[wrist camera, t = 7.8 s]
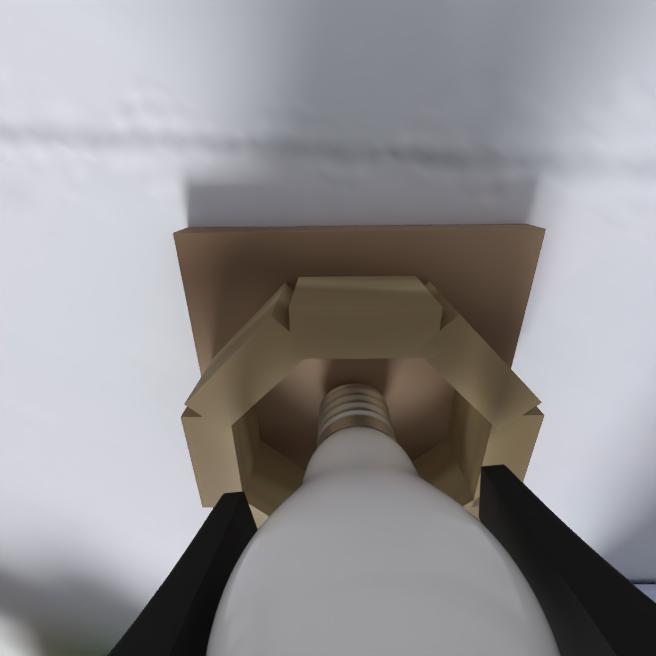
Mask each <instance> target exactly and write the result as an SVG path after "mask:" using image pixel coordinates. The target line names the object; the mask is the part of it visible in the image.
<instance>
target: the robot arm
mask: <svg viewBox="0 0 656 656" xmlns="http://www.w3.org/2000/svg"><path fill="white" fill-rule="evenodd" d="M479 519H480V522H481V523H482V524H483V525H484V526H485V527H486V528H487V529H488V530H489V531H490V532H491V533H492V534H493V535H494V536H495V537H496V539H497V540H498V541H499V542H500V543H501V544H502V546H503V547H504V548H505V549H506V551H507V552H508V553H509V554H510V556H511V557H512V559H513V560H514V561H515V563H516V564H517V566H518V567H519V569H520V570H521V572H522V573H523V575H524V576H525V578H526V580H527V581H528V583H529V585H530V586H531V588H532V590H533V592H534V594H535V595H536V597H537V599H538V601H539V603H540V605H541V607H542V609H543V611H544V613H545V616H546V618H547V620H548V622H549V625H550V627H551V629H552V632H553V634H554V637H555V640H556V642H557V645H558V648H559V651H560V654H561V656H656V584H632V583H631V582H630V581H629V580H628V579H626V578H625V577H624V576H623V575H622V574H621V573H619V572H618V571H617V570H616V569H615V568H614V567H612V566H611V565H610V564H609V563H608V562H607V561H605V560H604V559H603V558H602V557H601V556H600V555H599V554H598V553H596V552H595V551H594V550H593V549H592V548H591V547H590V546H589V545H587V544H586V543H585V542H584V541H583V540H582V539H581V538H580V537H579V536H578V535H577V534H576V533H574V532H573V531H572V530H571V529H570V528H569V527H568V526H567V525H566V524H565V523H564V522H563V521H561V520H560V519H559V518H558V517H557V516H556V515H555V514H554V513H553V512H552V511H551V510H550V509H549V508H548V507H547V506H546V505H545V504H544V503H543V502H542V501H541V500H540V499H539V498H538V497H537V496H536V495H535V494H534V493H533V492H532V491H531V490H530V489H529V488H528V487H527V486H526V485H525V484H524V483H523V482H522V481H521V480H520V479H519V478H518V477H517V476H516V475H515V474H514V473H513V472H512V471H511V470H510V469H509V468H508V467H507V466H505V465H504V464H501V465H491V466H481V478H480V498H479ZM257 530H258V529H257V526H256V523H255V520H254V518H253V515H252V512H251V509H250V507H249V504H248V501H247V498H246V495H245V493H244V491H241V492H231V493H224V494H223V495H222V496H221V497H220V499H219V501H218V502H217V504H216V505H215V507H214V508H213V510H212V511H211V513H210V514H209V516H208V518H207V519H206V521H205V522H204V524H203V525H202V527H201V528H200V530H199V531H198V533H197V534H196V536H195V537H194V539H193V540H192V542H191V543H190V545H189V546H188V548H187V549H186V551H185V552H184V554H183V555H182V557H181V558H180V559H179V561H178V562H177V564H176V565H175V567H174V568H173V570H172V571H171V573H170V574H169V575H168V577H167V578H166V580H165V581H164V582H163V584H162V585H161V586H160V588H159V589H158V591H157V592H156V593H155V595H154V596H153V597H152V599H151V600H150V601H149V603H148V604H147V605H146V607H145V608H144V609H143V611H142V612H141V613H140V615H139V616H138V617H137V619H136V620H135V621H134V623H133V624H132V625H131V627H130V628H129V629H128V630H127V632H126V633H125V634H124V635H123V637H122V638H121V639H120V640H119V642H118V643H117V644H116V645H115V647H114V648H113V649H112V650H111V652H110V653H109V654H108V655H107V656H206V650H207V645H208V640H209V636H210V632H211V628H212V624H213V620H214V617H215V613H216V610H217V607H218V604H219V601H220V598H221V596H222V593H223V590H224V588H225V586H226V583H227V581H228V579H229V576H230V574H231V572H232V570H233V568H234V566H235V564H236V562H237V561H238V559H239V557H240V555H241V554H242V552H243V550H244V549H245V547H246V545H247V544H248V542H249V541H250V540H251V538H252V537H253V535H254V534H255V533H256V531H257Z"/></svg>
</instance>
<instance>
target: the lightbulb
mask: <svg viewBox="0 0 656 656" xmlns="http://www.w3.org/2000/svg"><path fill="white" fill-rule="evenodd" d="M318 420H319V421H318V439H317V449H316V450H315V452H314V453H313V455H312V457H311V458H310V460H309V463H308V465H307V468H306V471H305V474H304V477H303V480H302V483H301V485H300V486H299V488H298V489H297V490H296V491H294V492H293V493H292V494H291V495H290V496H289V497H288V498H287V499H286V500H285V501H284V502H283V503H282V504H281V505H279V506H278V507H277V508H276V509H275V511H274V512H273V513H272V514H271V515H270V516H269V517H268V518H267V519H266V520H265V521H264V523H263V524H262V525H261V526H260V528H259V529H258V530H257V531H256V533H255V534H254V535H253V537H252V538H251V540H250V541H249V542H248V544H247V545H246V547H245V549H244V550H243V552H242V554H241V555H240V557H239V559H238V561H237V562H236V564H235V566H234V568H233V570H232V572H231V574H230V576H229V579H228V581H227V583H226V586H225V588H224V590H223V593H222V596H221V598H220V601H219V604H218V607H217V610H216V613H215V617H214V620H213V624H212V628H211V632H210V636H209V640H208V645H207V650H206V656H561V654H560V651H559V648H558V645H557V642H556V640H555V637H554V634H553V632H552V629H551V627H550V625H549V622H548V620H547V618H546V616H545V613H544V611H543V609H542V607H541V605H540V603H539V601H538V599H537V597H536V595H535V594H534V592H533V590H532V588H531V586H530V585H529V583H528V581H527V580H526V578H525V576H524V575H523V573H522V572H521V570H520V569H519V567H518V566H517V564H516V563H515V561H514V560H513V559H512V557H511V556H510V554H509V553H508V552H507V551H506V549H505V548H504V547H503V546H502V544H501V543H500V542H499V541H498V540H497V539H496V537H495V536H494V535H493V534H492V533H491V532H490V531H489V530H488V529H487V528H486V527H485V526H484V525H483V524H482V523H481V522H480V521H479V520H478V519H477V518H476V517H475V516H474V515H473V514H471V513H470V512H469V511H468V510H467V509H466V508H464V507H463V506H462V505H461V504H459V503H458V502H457V501H455V500H454V499H453V498H451V497H450V496H448V495H447V494H446V493H444V492H443V491H441V490H440V489H438V488H437V487H435V486H433V485H432V484H430V483H429V482H427V481H426V480H424V479H423V478H422V477H421V476H420V475H419V474H418V472H417V470H416V468H415V467H414V465H413V463H412V461H411V459H410V458H409V456H408V455H407V453H406V452H405V451H404V449H403V448H402V447H401V446H400V445H399V444H398V443H397V441H396V438H395V436H394V430H393V427H392V422H391V419H390V414H389V409H388V405H387V402H386V400H385V398H384V397H383V396H382V394H381V393H380V392H378V391H377V390H376V389H374V388H372V387H370V386H367V385H364V384H357V383H352V384H345V385H341V386H338V387H336V388H334V389H333V390H331V391H330V392H329V393H327V394H326V396H325V397H324V398H323V400H322V401H321V404H320V407H319V416H318Z"/></svg>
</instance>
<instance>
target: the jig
mask: <svg viewBox="0 0 656 656" xmlns="http://www.w3.org/2000/svg"><path fill="white" fill-rule="evenodd" d="M545 230H546V229H544V228H540V227H536V226H532V225H528V224H483V225H390V226H298V227H205V228H185V229H183V230H180V231H177V232H174V233H173V235H174V240H175V245H176V250H177V256H178V261H179V266H180V271H181V276H182V281H183V286H184V291H185V296H186V301H187V306H188V311H189V316H190V321H191V326H192V331H193V337H194V342H195V347H196V352H197V357H198V362H199V367H200V372H201V379H200V380H199V382H198V383H197V385H196V387H195V388H194V390H193V391H192V393H191V394H190V396H189V398H188V399H187V401H186V402H185V405H186V406H187V408H186V409H185V411H184V413H183V414H182V416H181V420H182V424H183V428H184V432H185V437H186V441H187V445H188V449H189V453H190V457H191V461H192V466H193V470H194V474H195V478H196V482H197V486H198V490H199V495H200V499H201V503H202V507H213V508H214V507H215V505H216V504H217V502H218V501H219V499H220V497H221V496H222V495H223V494H224V493H231V492H241V491H244V493H245V495H246V498H247V501H248V504H249V507H250V509H251V512H252V515H253V518H254V520H255V523H256V526H257V529H259V528H260V526H261V525H262V524H263V523H264V521H265V520H266V519H267V518H268V517H269V516H270V515H271V514H272V513H273V512H274V511H275V509H276V508H277V507H278V506H279V505H281V504H282V503H283V502H284V501H285V500H286V499H287V498H288V497H289V496H290V495H291V494H292V493H293V492H294V491H296V490H297V489H298V488H299V486H300V485H301V483H302V480H303V477H304V474H305V471H306V468H307V465H308V463H309V460H310V458H311V457H312V455H313V453H314V452H315V450H316V449H317V439H318V421H319V420H318V416H319V407H320V404H321V401H322V400H323V398H324V397H325V396H326V394H327V393H329V392H330V391H331V390H333V389H334V388H336V387H338V386H341V385H345V384H352V383H357V384H364V385H367V386H370V387H372V388H374V389H376V390H377V391H378V392H380V393H381V394H382V396H383V397H384V398H385V400H386V402H387V405H388V409H389V414H390V419H391V422H392V427H393V430H394V436H395V438H396V441H397V443H398V444H399V445H400V446H401V447H402V448H403V449H404V451H405V452H406V453H407V455H408V456H409V458H410V459H411V461H412V463H413V465H414V467H415V468H416V470H417V472H418V474H419V475H420V476H421V477H422V478H423V479H424V480H426V481H427V482H429V483H430V484H432V485H433V486H435V487H437V488H438V489H440V490H441V491H443V492H444V493H446V494H447V495H448V496H450V497H451V498H453V499H454V500H455V501H457V502H458V503H459V504H461V505H462V506H463V507H464V508H466V509H467V510H468V511H469V512H470V513H471V514H473V515H474V516H475V517H476V518H477V519H478V520H479V521H480V519H479V498H480V478H481V466H491V465H501V464H504V465H505V466H507V467H508V468H509V469H510V470H511V471H512V472H513V473H514V474H515V475H516V476H517V477H518V478H519V479H520V480H521V481H522V482H523V480H524V477H525V474H526V471H527V468H528V465H529V462H530V458H531V455H532V452H533V449H534V446H535V443H536V440H537V437H538V433H539V430H540V427H541V424H542V421H543V418H544V414H543V413H542V412H541V411H540V410H539V409H538V408H537V407H536V406H537V405H539V404H540V403H542V402H541V401H540V400H539V399H538V398H537V397H536V396H535V395H534V394H533V392H532V391H531V390H530V389H529V388H528V387H527V386H526V385H525V384H524V383H523V382H522V381H521V380H520V378H519V377H518V376H517V375H516V374H515V373H514V372H513V371H512V370H511V366H512V362H513V358H514V354H515V350H516V346H517V342H518V338H519V334H520V330H521V326H522V322H523V318H524V314H525V310H526V306H527V302H528V298H529V294H530V290H531V286H532V282H533V278H534V274H535V270H536V266H537V262H538V258H539V254H540V250H541V246H542V242H543V238H544V234H545Z"/></svg>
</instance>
